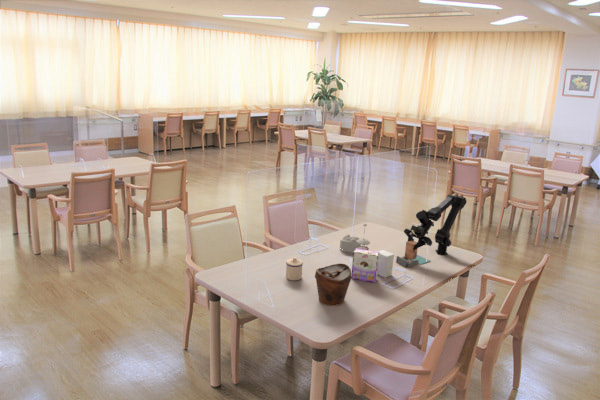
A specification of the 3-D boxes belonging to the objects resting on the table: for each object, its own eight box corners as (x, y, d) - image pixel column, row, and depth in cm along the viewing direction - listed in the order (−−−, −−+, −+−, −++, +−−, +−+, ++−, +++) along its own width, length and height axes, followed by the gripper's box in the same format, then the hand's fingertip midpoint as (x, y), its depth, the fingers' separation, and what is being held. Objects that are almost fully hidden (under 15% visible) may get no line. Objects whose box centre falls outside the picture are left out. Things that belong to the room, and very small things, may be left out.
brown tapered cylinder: (307, 304, 244) (310, 271, 239) (320, 288, 262) (323, 257, 257) (341, 313, 238) (345, 280, 233) (352, 296, 256) (356, 264, 251)
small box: (391, 275, 282) (394, 254, 279) (384, 278, 278) (386, 256, 275) (381, 270, 288) (383, 249, 284) (373, 272, 284) (376, 251, 281)
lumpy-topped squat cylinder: (362, 251, 314) (363, 238, 312) (344, 253, 309) (345, 240, 306) (353, 245, 323) (354, 232, 321) (336, 247, 318) (337, 234, 315)
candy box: (377, 279, 277) (380, 251, 272) (375, 283, 271) (378, 255, 267) (353, 274, 281) (355, 247, 276) (350, 278, 276) (353, 251, 271)
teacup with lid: (304, 279, 271) (306, 259, 268) (290, 281, 267) (291, 262, 264) (294, 270, 281) (296, 251, 278) (280, 272, 277) (281, 253, 274)
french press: (351, 264, 294) (354, 224, 286) (356, 257, 304) (360, 219, 297) (367, 267, 290) (371, 227, 283) (372, 260, 301) (376, 221, 293)
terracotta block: (410, 255, 304) (411, 240, 301) (416, 258, 300) (418, 243, 297) (404, 257, 301) (406, 241, 298) (410, 260, 297) (412, 244, 294)
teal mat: (416, 255, 313) (416, 254, 313) (430, 261, 305) (430, 260, 304) (406, 258, 307) (406, 257, 307) (420, 264, 299) (420, 264, 299)
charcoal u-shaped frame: (406, 258, 306) (407, 253, 305) (418, 264, 299) (419, 258, 298) (396, 262, 300) (396, 256, 299) (407, 267, 294) (408, 261, 292)
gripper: (407, 216, 303) (393, 236, 300) (431, 225, 289) (416, 246, 285) (414, 225, 310) (400, 245, 307) (438, 235, 295) (424, 256, 292)
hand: (410, 248), depth 298 cm, fingers closed on terracotta block, 5 cm apart
